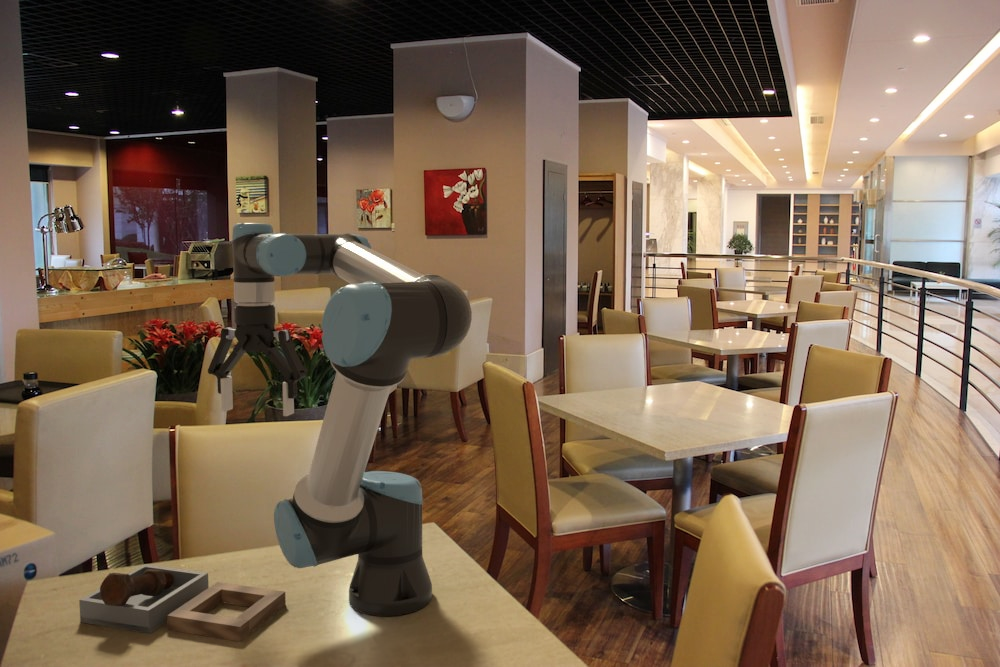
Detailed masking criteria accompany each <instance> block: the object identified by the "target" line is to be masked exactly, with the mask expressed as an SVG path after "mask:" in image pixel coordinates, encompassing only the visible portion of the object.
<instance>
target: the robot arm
mask: <svg viewBox="0 0 1000 667" xmlns="http://www.w3.org/2000/svg"><path fill="white" fill-rule="evenodd" d="M231 234H232V235H231V236H232V239H231V246H232V269H233V302H234V303H235V304H236V303H237V305H235V307H233V308H234V323H235V324H236V326H235V328H234V327H232V326H229V327H223V328H221V330H220V338H219V342H218V345H217V347H216V349H215V352H214V354H213V357H212V359H211V361H210V364H209V366H208V368H207V374H209V375H213V376H215V377H216V378H217V379H216V380H217V382H216V383H217V393H218V394H219V395H220V399H221V400H220V401H221V402H220V404H221V406H220V407H221V408H220V409H221V412H223V413H224V412H229V411H231V410H233V409H234V401H233V400H234V399H233V397H234V396H233V376H230V375H231V374H230V373H231V372H232V370H233V368H235V366H236V365H237V363H239V361H240V360H241V358H242V357H243V356H244V355H245V353H259V354H260V353H264V355H266V356H267V357H268V359H270V361H271V362H272V364H274V366H275V367H276V369H277V370H278V371H279V373H280V374H281V375H282V377H283V378H284V379H285V381H283V382H282V409H283V410H282V416H283V417H288V416H292V415H294V414H295V402H294V400H295V398H297V397H298V381H299V380H301V379H304V378H306V377H307V372H306V370H305V368H304V366H303V363H302V361H301V359H300V357H299V355H298V353H297V350H296V348H295V346H294V344H293V341H292V336H291V330H289V329H281V330H276V327H275V324H276V306H275V305H274V304H272V303H274V302H275V299H276V298H275V297H276V296H275V290H276V289H275V277H288V276H296V275H299V276H300V275H334V276H336V277H338V278H340V279H341V280H343V281H345V282H347V283H349V284H346V285H345V286H342V287H340V288H338V289H337V290H336V291H335V292H334V293H333V294H332V295H331V297H330V298H329V300H328V302H327V304H326V306H325V309H324V312H323V314H322V321H321V329H322V330H323V331H322V332H323V333H322V335H321V342H322V346H323V350H324V352H325V355H326V356H327V358H328V359H329V361H330V365H331V367H332V368H333V369H334V371H335V376H334V379H333V383H332V386H331V390H330V391H331V392H330V394H329V398H328V401H327V405H326V408H325V413H324V416H323V419H322V424H321V427H320V431H319V435H318V439H317V443H316V446H315V449H314V454H313V457H312V460H311V463H310V469H309V472H308V474H306V475H305V476H303V477H301V479H300V480H299V481H298V482H297V484H296V485H295V488H294V492H293V495H292V498H290V499H287V498H284V499H283V500H282V501H278V502H277V503H276V505H275V506H274V511H273V524H274V529H275V535H276V538H277V539H276V540H277V542H278V545H279V548H280V551H281V553H282V554H283V556H284V558H285V560H286V561H287V562H288V563H289V565H290V566H292V567H293V568H297V569H304V568H310V567H314V568H316V567H318V566H319V565H323V564H327V563H330V562H333V561H338V560H341V559H345V558H349V557H352V556H355V555H357V556H358V558H357V562H356V565H355V569H354V570H353V575H352V577H351V578H352V579H351V581H350V584H349V586H348V602H349V605H350V606H351V607H352V608H353V609H355V610H356V611H357V612H360V613H363V614H367V615H371V616H376V617H377V616H378V617H394V616H401V615H407V614H410V613H413V612H417V611H419V610H421V609H424V608H425V607H426V606H427V605H428V604H429V603H430V602H431V601H432V598H433V585H432V581H431V576H430V575H429V571H428V568H427V566H426V563H425V560H424V557H423V504H424V500H423V489H422V484H421V482H420V481H419V480H418V479H417V478H416V477H415V476H411V475H410V474H405V473H401V472H396V471H385V470H372V471H366V468H367V464H368V461H369V459H370V457H371V456H370V455H371V454H372V449H373V446H374V442H375V440H376V437H377V434H378V431H379V430H378V429H379V427H380V425H381V421H382V418H383V414H384V411H385V407H386V404H387V401H388V398H389V396H390V391H391V388H393V387H395V386H397V385H399V384H400V383H401V382H403V381H404V379H405V377H406V374H407V371H408V369H409V367H410V366H409V365H410V363H411V361H412V360H416V359H417V360H418V359H426V358H433V357H440V356H443V355H446V354H448V353H449V352H451V351H453V350H455V349H456V348H457V347H459V345H460V344H462V343H463V341H464V340H465V339H466V337H467V335H468V333H469V330H470V328H471V323H472V320H473V318H472V316H473V315H472V313H473V312H472V307H471V304H470V300H469V298H468V297H467V295H466V293H465V291H463V289H462V288H461V287H459V285H457V284H456V283H455V282H453V281H450V280H449V279H446V278H444V277H442V276H440V275H437V274H435V273H433V274H432V273H428V274H422V273H421V272H418V271H416V270H414V269H412V268H411V267H408V266H406V265H405V264H402V263H400V262H398V261H397V260H394V259H392V258H390V257H388V256H387V255H384V254H383V253H380V252H379V251H376V250H374V249H372V245H371V243H370V242H369V240H368V239H367V238H366V237H365V236H364V235H362V234H361V235H360V234H352V233H342V234H339V233H338V234H335V233H334V234H333V233H330V234H327V233H326V234H323V233H322V234H320V233H317V234H315V233H288V232H274V227H273V225H271V224H269V223H267V222H266V223H265V222H264V223H263V222H260V223H259V222H258V223H257V222H238V223H235V224H233V227H232V233H231ZM235 338H236V341H237V343H236V344H235V345H234V347H233V348H232V351H231V352H230V354H229V355H228V353H229V350H230V348H231V346H232V343H233V340H234V339H235ZM275 340H276V341H277V342H279V343H278V344H279V346H280V348H281V351H282V353H283V354H282V353H281V351H280V348H279V347H278V345H277V344H276V343H275Z"/></svg>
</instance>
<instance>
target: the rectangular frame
mask: <svg viewBox="0 0 1000 667" xmlns="http://www.w3.org/2000/svg"><path fill="white" fill-rule="evenodd" d="M223 603H224V604H229V605H238V606H243V607H248V608H247V609H246V610H244V611H242V613H241V614H239V615H237V617H231V616H225V615H218V614H212V613H210V611H212V610H213V609H215V608H216V607H218V606H219V605H220V604H223ZM286 604H287V603H286V591H284V590H278V589H277V590H276V589H271V588H263V587H255V586H247V585H241V584H236V583H235V584H233V583H228V582H220V581H217V582H215V583H214V584H212V585H210V586H209V588H208V589H206V590H205V591H203V592H202V593H200V594H199V595H197V596H196V597H194V598H193V599H191V600H190V601H188V602H187V603H185V604H184V605H182V606H181V607H179V608H178V609H176V610H175V611H173V612H172V613H170V614H169V615H167V622H166V623H167V630H168V631H172V632H180V633H181V632H182V633H186V634H192V635H199V636H204V637H211V638H218V639H224V640H229V641H236V642H242V641H243V640H244V639H246V638H247V637H248V636H249V635H250V634H252V633H253V632H254V631H256V630H257V629H258V628H259V627H260V626H261V625H263V624H264V623H265V622H267V621H268V620H269V619H270V618H271V617H272V616H274V615H275V614H276V613H277V612H279V611H280V610H281V609H283V607H285V606H286Z"/></svg>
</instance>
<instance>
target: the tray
mask: <svg viewBox="0 0 1000 667" xmlns="http://www.w3.org/2000/svg"><path fill="white" fill-rule="evenodd" d="M149 569H154V570H162V571H163V572H164V571H168V572H170V573H171V574H172V575H173V577H174V583H173V585H171V587H170V588H168V589H164V590H163V591H162V592H161V593H160V594H159V595H158V596H146V595H142V594H140V595H135V596H130V598H129V599H128V601H127V602H126V604H125V605H123V606H111V605H106V604H105V603H104V602H103V600H102V598H101V595H100V588H98V589H96V590H95V591H92V592H91V593H89V594H87V595H86V596H84V597H82V598H79V600H78V601H79V604H78V605H79V621H80V623H84V624H90V625H95V626H103V627H107V628H113V629H114V628H115V629H118V630H119V629H120V630H121V629H122V630H127V631H132V632H140V633H146V634H151V633H152V632H154V631H155V630H158V629H159V628H160V627H162V625H163V626H164V624H166V623H167V615H169V614H170V613H172V612H173V611H175V610H176V609H178V608H179V607H181V606H182V605H184V604H185V603H187V602H188V601H190V600H191V599H193V598H194V597H196V596H197V595H199V594H200V593H202V592H203V591H205V590H206V589H208V588H209V587H210V586H209V573H208V572H203V571H197V570H188V569H181V568H175V567H167V566H160V565H152V564H147V563H146V564H145V563H144V564H142V565H140V566H138V567H137V568H135V569H132V570H131V571H129V572H128V573H126V574H129V576H130V577H135V576H141V575H142V574H143V573H144V572H145V571H146V570H149Z"/></svg>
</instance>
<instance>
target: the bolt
mask: <svg viewBox="0 0 1000 667" xmlns="http://www.w3.org/2000/svg"><path fill="white" fill-rule="evenodd" d="M173 583H174V577H173V575H172V574H171V573H170V572H168V571H164V572H163V571H162V570H154V569H149V570H146V571H145V572H144V573H143V574H142V575H141V576H135V577H130V576H129V574H127V573H120V572H111V573H108V574H107V576H106V577H104V579H103V580H102V582H101V584H100V587H99V589H100V595H101V598H102V600H103V602H104V603H105V604H106V605H111V606H123V605H125V604H126V602H127V601H128V599H129V598H130V596H135V595H140V594H142V595H146V596H158V595H159V594H160V593H161V592H162V591H163V590H164V589H168V588H170V587H171V585H173Z"/></svg>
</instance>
